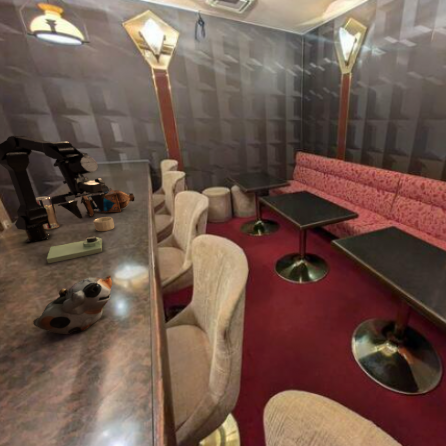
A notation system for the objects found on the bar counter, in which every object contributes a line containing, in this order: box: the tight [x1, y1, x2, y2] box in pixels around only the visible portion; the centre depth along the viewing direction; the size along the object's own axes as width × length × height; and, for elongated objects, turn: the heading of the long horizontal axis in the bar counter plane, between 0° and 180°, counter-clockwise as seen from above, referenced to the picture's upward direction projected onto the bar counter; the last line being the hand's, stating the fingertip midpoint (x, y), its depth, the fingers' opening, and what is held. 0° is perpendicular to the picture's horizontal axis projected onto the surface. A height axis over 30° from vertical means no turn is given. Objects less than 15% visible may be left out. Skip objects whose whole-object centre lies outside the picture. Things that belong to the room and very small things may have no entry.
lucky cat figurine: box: [32, 275, 113, 335], centre depth 65 cm, size 15×12×14 cm
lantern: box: [80, 187, 136, 218], centre depth 145 cm, size 16×16×25 cm
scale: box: [46, 237, 103, 264], centre depth 100 cm, size 16×12×4 cm
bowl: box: [93, 216, 116, 232], centre depth 121 cm, size 7×7×5 cm
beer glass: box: [35, 195, 61, 231], centre depth 119 cm, size 7×7×15 cm
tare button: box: [86, 235, 97, 243], centre depth 102 cm, size 3×3×2 cm
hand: (92, 214), depth 98 cm, fingers open, 9 cm apart
